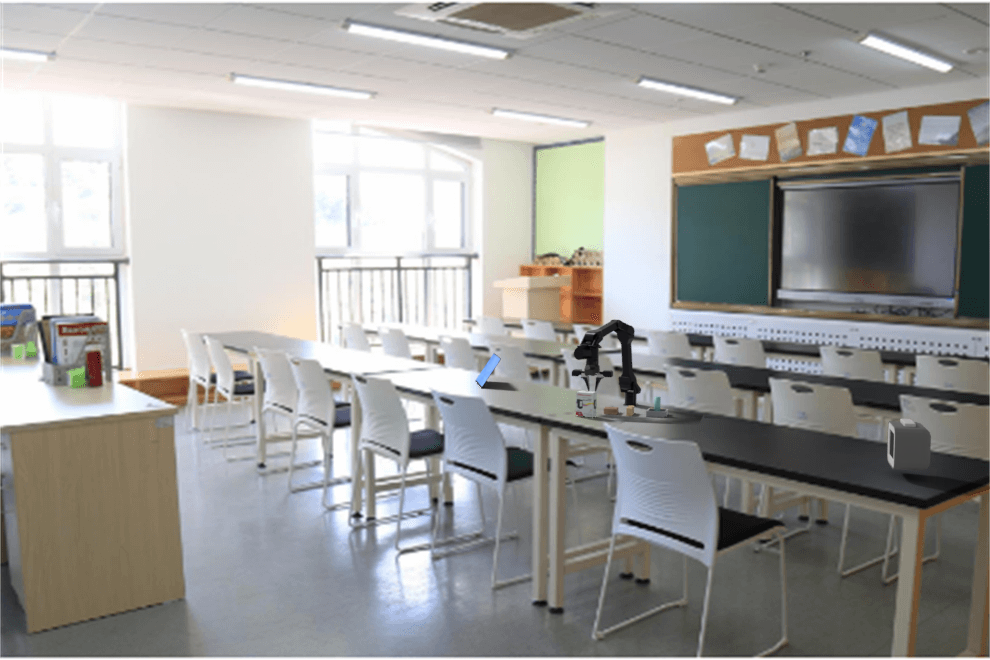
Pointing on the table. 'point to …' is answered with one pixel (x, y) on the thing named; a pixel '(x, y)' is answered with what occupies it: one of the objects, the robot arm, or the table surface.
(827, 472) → the table surface
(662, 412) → the tray
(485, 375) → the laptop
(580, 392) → the ink box
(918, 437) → the alarm clock
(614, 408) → the walnut block
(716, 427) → the table surface
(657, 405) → the dowel
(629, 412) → the block
